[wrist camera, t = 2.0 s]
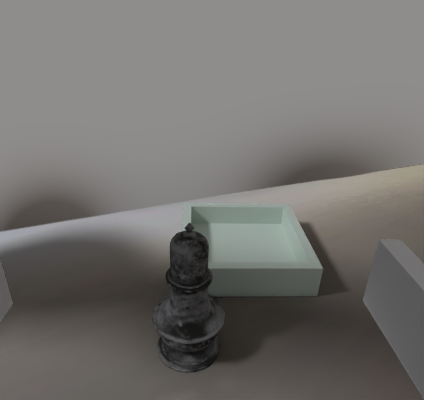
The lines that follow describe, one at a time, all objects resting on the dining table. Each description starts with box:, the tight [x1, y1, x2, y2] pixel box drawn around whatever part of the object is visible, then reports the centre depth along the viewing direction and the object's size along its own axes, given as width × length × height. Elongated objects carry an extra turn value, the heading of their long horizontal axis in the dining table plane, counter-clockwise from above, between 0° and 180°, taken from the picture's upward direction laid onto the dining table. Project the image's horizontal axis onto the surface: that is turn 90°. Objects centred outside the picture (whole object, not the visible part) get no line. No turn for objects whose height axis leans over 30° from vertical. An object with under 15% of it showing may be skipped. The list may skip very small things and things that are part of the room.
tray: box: [182, 203, 323, 297], centre depth 41 cm, size 14×14×4 cm
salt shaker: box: [152, 223, 225, 373], centre depth 28 cm, size 6×6×12 cm
